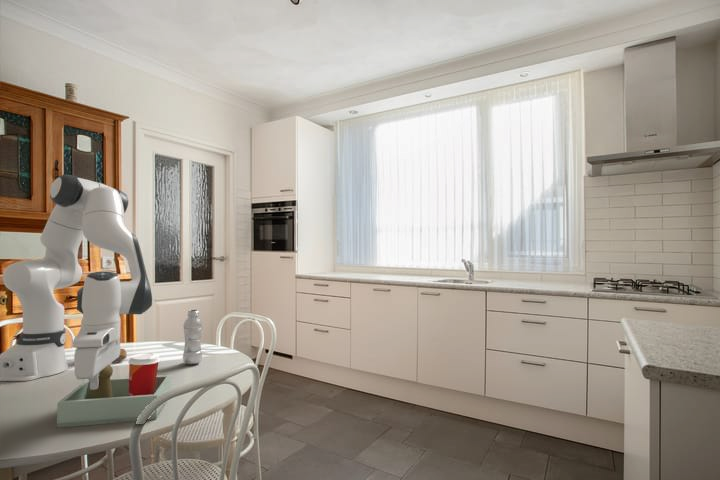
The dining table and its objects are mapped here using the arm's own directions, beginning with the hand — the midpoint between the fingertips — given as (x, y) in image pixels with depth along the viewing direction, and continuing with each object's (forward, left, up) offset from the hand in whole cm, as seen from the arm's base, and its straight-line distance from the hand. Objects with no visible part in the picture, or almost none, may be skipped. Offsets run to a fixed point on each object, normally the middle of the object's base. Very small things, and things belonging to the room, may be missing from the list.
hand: (99, 384), depth 102 cm
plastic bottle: (+17, +39, -7) cm, 43 cm away
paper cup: (+10, 0, -7) cm, 12 cm away
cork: (0, 0, -6) cm, 6 cm away
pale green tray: (+5, 0, -7) cm, 9 cm away
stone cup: (-15, +51, -7) cm, 54 cm away
